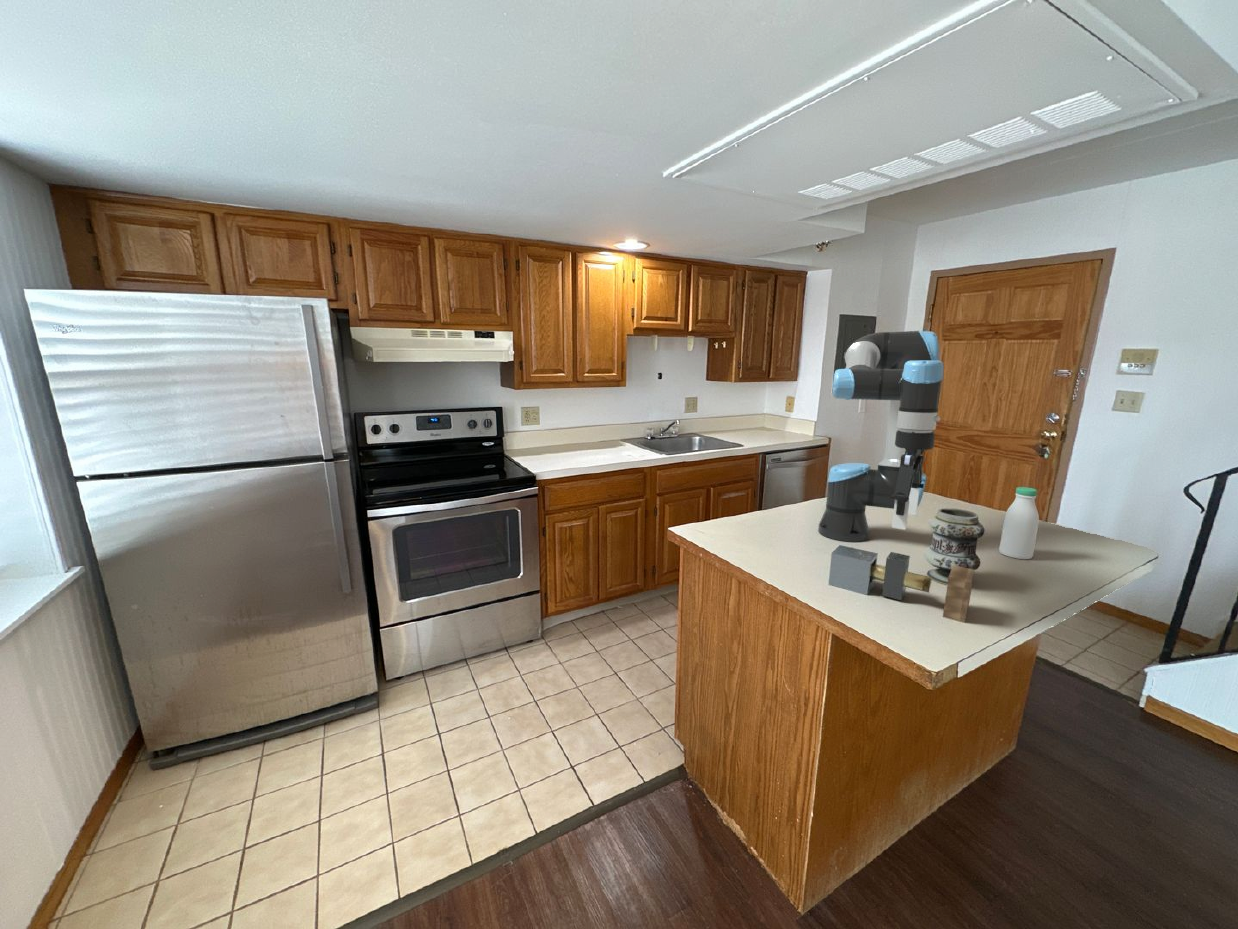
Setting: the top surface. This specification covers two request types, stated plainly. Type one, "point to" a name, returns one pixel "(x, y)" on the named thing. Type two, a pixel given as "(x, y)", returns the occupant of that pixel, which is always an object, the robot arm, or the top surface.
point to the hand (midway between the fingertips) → (904, 521)
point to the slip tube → (898, 576)
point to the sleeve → (852, 569)
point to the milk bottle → (1020, 525)
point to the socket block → (958, 593)
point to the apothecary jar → (953, 542)
